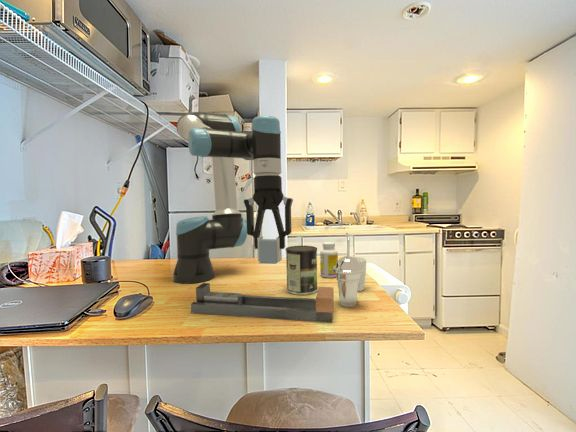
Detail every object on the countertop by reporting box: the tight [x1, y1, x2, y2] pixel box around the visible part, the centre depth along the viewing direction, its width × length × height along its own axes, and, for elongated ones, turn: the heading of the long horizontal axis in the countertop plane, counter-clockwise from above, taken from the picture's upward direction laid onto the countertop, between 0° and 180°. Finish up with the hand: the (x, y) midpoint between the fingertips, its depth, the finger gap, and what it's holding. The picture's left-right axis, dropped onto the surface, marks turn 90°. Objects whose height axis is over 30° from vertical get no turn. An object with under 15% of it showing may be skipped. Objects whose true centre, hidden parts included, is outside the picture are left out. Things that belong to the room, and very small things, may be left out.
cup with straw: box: [333, 232, 363, 308], centre depth 85 cm, size 8×9×20 cm
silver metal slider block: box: [195, 282, 243, 305], centre depth 84 cm, size 12×4×6 cm, turn 79°
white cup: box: [352, 256, 367, 292], centre depth 99 cm, size 8×8×10 cm
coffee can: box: [285, 245, 318, 296], centre depth 98 cm, size 10×10×14 cm
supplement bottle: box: [319, 241, 339, 279], centre depth 114 cm, size 7×7×13 cm
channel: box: [190, 286, 335, 323], centre depth 81 cm, size 38×9×6 cm, turn 79°
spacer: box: [258, 238, 278, 265], centre depth 82 cm, size 5×5×6 cm
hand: (270, 260), depth 82 cm, fingers closed on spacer, 5 cm apart
